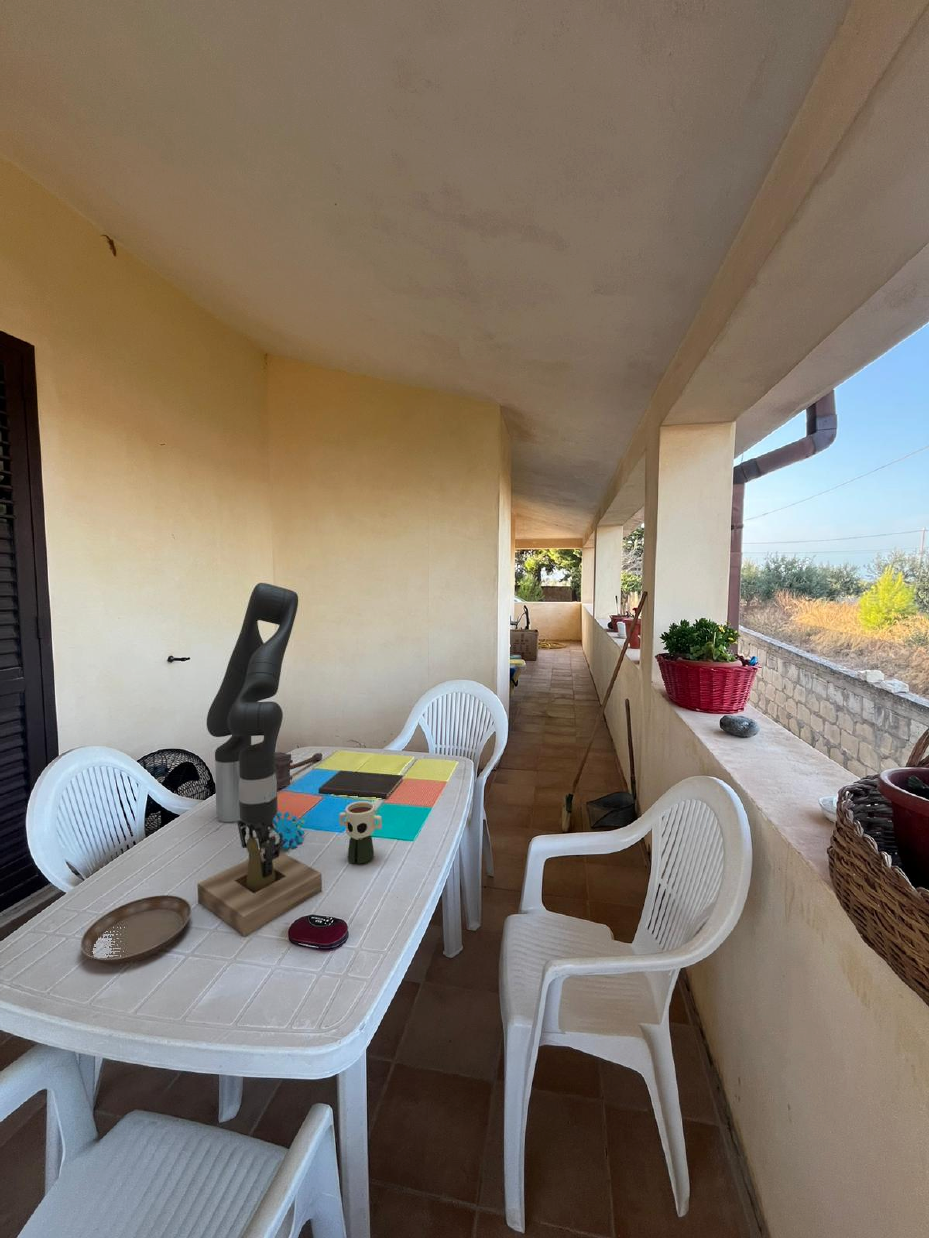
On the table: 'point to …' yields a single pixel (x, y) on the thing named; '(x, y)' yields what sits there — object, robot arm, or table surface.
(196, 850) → the table surface
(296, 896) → the socket block
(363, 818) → the character mug
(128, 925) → the plant saucer
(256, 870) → the olive knobbed peg
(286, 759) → the hammer
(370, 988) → the table surface
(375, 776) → the hardcover book
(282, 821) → the gear
